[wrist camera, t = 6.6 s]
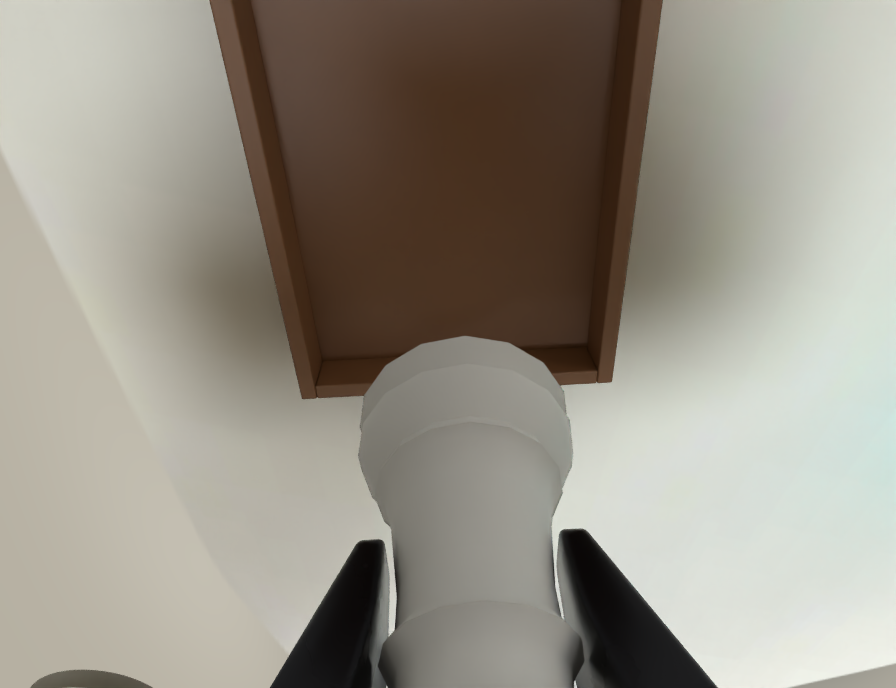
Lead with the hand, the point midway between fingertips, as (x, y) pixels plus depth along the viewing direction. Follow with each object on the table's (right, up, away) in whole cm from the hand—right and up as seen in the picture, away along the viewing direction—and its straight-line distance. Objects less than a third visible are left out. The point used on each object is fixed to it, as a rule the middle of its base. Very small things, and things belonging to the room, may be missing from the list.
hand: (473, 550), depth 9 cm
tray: (-1, +10, +6) cm, 12 cm away
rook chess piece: (0, +2, +3) cm, 4 cm away
